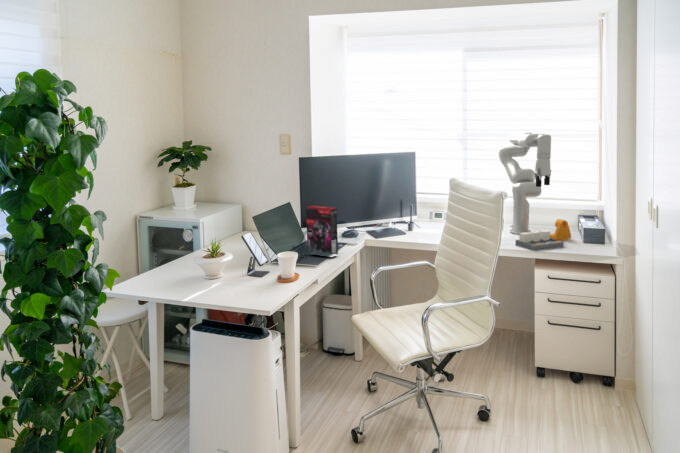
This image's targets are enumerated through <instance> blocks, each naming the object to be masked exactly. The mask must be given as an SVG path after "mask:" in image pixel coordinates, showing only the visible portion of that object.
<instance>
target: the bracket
mask: <svg viewBox="0 0 680 453" xmlns="http://www.w3.org/2000/svg"><path fill="white" fill-rule="evenodd" d="M554 226H555V227H556V229H555V232H554V233H550V238H552V239H556V240H559V241H563V242H564V241H568V239H571V238H572V233H571V231H570V226H569V223H568V221H567V220H566V219H565V220H564V219H561V218H559V219H557V220H555V223H554Z"/></svg>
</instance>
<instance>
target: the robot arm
mask: <svg viewBox="0 0 680 453" xmlns="http://www.w3.org/2000/svg"><path fill="white" fill-rule="evenodd" d="M509 142H510V143H505V144H502V145H501V146H499V149H498V158H499V160H500V162H501V164H502V165H503V167H504V168H505V170H506V173H507V176H508V179H509V180H510V183H512V184H513V185H512V188H511V189H512V190H511V191H512V198H513V200H512V201H513V207H512V208H513V209H512V211H513V214H512V224H510V228H511V229H510V230H509V232H510V234H515V235H519V234H520V233H525V232H527V233H529V232H532V230H530V228H529V227H530V224H529V223H530V202H529V201H528V200H527V198H536V197H537V198H538V197H540V196H541V194H542V179H544V180H543V185H544V186H550V183H551V182H550V181H551V175H552V174H551V173H552V170H551V156H552V155H551V154H552V153H551V151H552V135H551V134H547V133H546V134H545V133H532V132H531V131H515V132H512V133H511V134H510V136H509ZM535 147H536V160H535V167H534V168H535V169H534V170H533V169H531V168H521V166H520V164H519V162H518V161H517V160H515V159H514V158H517V157H518V158H519V157H521V158H522V157H525V156H526V155H527V154H528V152H529V150H530V149H531V148H535ZM543 177H544V178H543Z"/></svg>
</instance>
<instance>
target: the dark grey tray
mask: <svg viewBox="0 0 680 453" xmlns="http://www.w3.org/2000/svg"><path fill="white" fill-rule="evenodd" d="M564 244H565V242H564V240H563V241H559V240H556V239H552V238H550V240H542V239H540V241H532V240H531V242H528V243H526V242H522V241H519V239H515V246H517V247H521V248H524V249H527V250H530V251H533V252H534V251H535V252H536V251H543V250H550V249H558V247H559V248H564V247H565V246H564Z"/></svg>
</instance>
